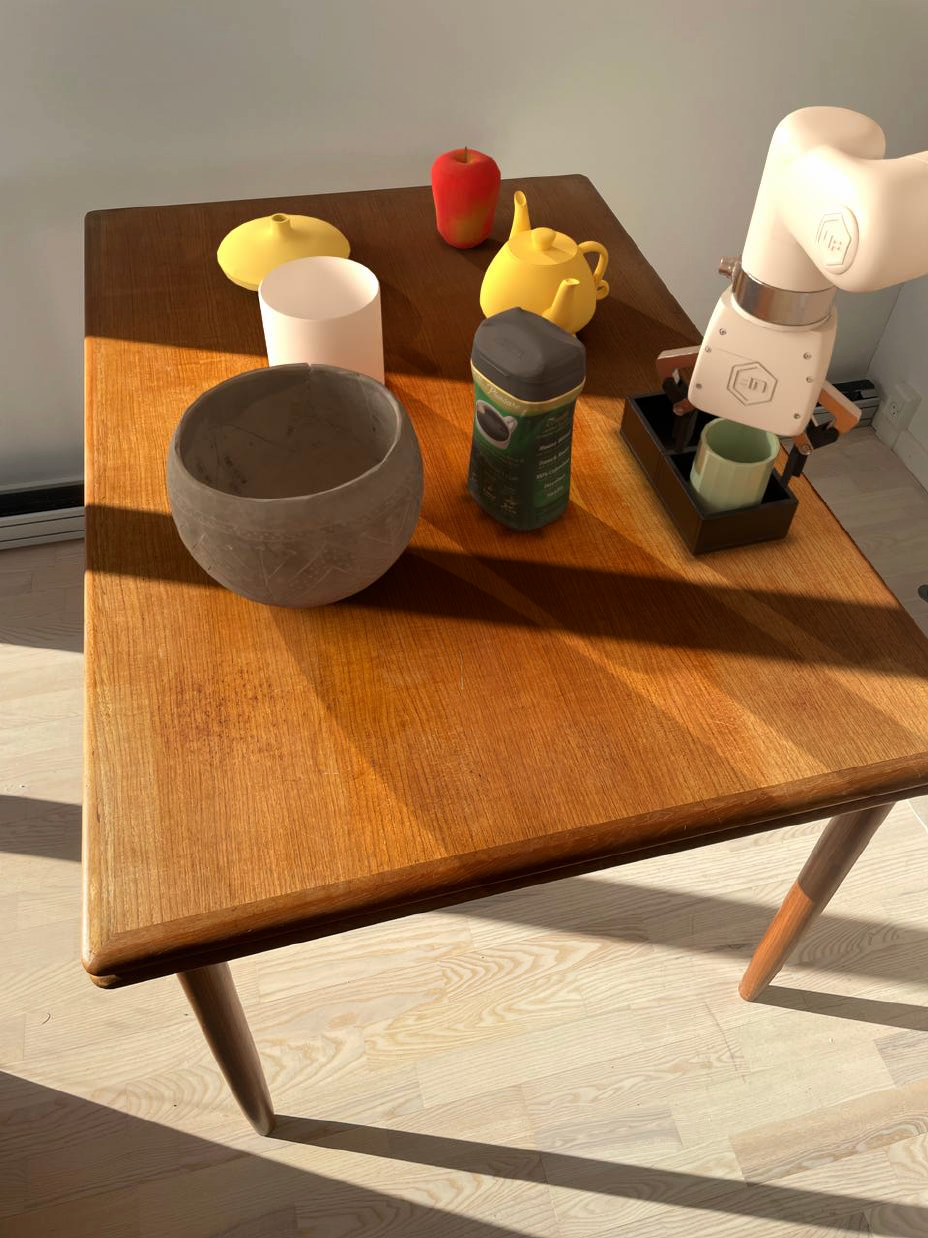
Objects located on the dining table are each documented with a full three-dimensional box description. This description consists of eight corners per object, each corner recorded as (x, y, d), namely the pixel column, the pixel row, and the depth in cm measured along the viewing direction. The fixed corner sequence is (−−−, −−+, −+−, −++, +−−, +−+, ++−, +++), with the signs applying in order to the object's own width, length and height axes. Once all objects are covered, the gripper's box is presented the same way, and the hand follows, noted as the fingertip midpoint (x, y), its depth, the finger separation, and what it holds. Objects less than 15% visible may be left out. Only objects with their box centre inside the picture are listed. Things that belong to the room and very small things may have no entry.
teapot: (635, 367, 107) (652, 271, 98) (506, 386, 104) (512, 289, 95) (575, 273, 119) (586, 180, 110) (459, 287, 116) (460, 194, 108)
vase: (351, 308, 113) (347, 251, 108) (215, 310, 112) (203, 254, 107) (352, 239, 123) (348, 184, 118) (227, 241, 122) (217, 186, 117)
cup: (299, 348, 108) (286, 247, 98) (399, 367, 106) (395, 266, 97) (256, 411, 100) (238, 308, 91) (362, 433, 98) (354, 329, 89)
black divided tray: (785, 538, 90) (799, 501, 86) (692, 556, 88) (703, 519, 84) (703, 418, 101) (712, 381, 97) (619, 432, 99) (625, 395, 96)
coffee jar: (582, 509, 92) (608, 339, 77) (519, 546, 88) (534, 375, 74) (515, 456, 96) (528, 287, 82) (453, 489, 93) (455, 319, 79)
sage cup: (765, 497, 92) (788, 430, 86) (745, 542, 88) (767, 475, 82) (696, 474, 94) (714, 407, 88) (674, 517, 90) (691, 450, 84)
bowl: (182, 500, 91) (146, 366, 80) (397, 466, 95) (392, 333, 84) (203, 671, 78) (163, 540, 67) (451, 623, 82) (453, 491, 71)
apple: (511, 242, 124) (516, 148, 115) (461, 263, 120) (462, 168, 111) (467, 216, 128) (469, 123, 119) (417, 235, 124) (416, 141, 115)
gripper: (661, 281, 74) (628, 455, 87) (890, 344, 69) (818, 518, 82) (693, 238, 78) (657, 409, 92) (910, 294, 74) (839, 467, 87)
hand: (733, 461), depth 87 cm, fingers open, 9 cm apart
